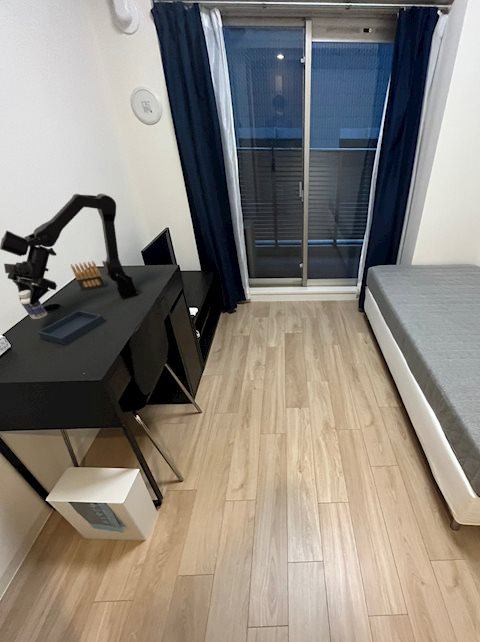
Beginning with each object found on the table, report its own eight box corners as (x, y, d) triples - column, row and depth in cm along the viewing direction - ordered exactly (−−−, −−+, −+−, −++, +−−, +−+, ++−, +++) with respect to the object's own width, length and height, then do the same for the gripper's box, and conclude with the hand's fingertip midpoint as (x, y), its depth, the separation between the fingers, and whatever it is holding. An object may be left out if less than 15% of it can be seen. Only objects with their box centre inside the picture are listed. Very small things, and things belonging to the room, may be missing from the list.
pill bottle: (40, 320, 123) (23, 296, 117) (28, 319, 124) (11, 295, 118) (50, 312, 127) (35, 289, 120) (39, 312, 128) (23, 288, 121)
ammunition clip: (81, 290, 154) (68, 265, 146) (82, 289, 155) (69, 263, 147) (106, 286, 156) (94, 261, 148) (106, 284, 157) (94, 259, 149)
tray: (81, 316, 134) (78, 310, 132) (104, 321, 130) (101, 315, 128) (41, 338, 122) (37, 332, 121) (65, 345, 118) (61, 338, 116)
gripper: (-5, 250, 116) (-16, 292, 116) (28, 254, 110) (17, 299, 110) (30, 263, 127) (20, 302, 127) (62, 268, 120) (51, 309, 120)
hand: (26, 303), depth 121 cm, fingers closed on pill bottle, 5 cm apart
